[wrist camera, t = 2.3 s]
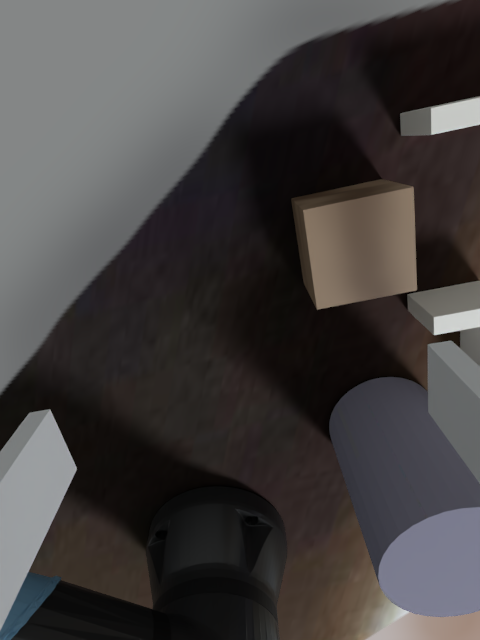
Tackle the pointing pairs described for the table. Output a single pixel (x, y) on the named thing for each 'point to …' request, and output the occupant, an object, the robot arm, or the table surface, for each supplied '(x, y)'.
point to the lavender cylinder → (410, 497)
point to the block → (357, 242)
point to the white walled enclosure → (463, 299)
